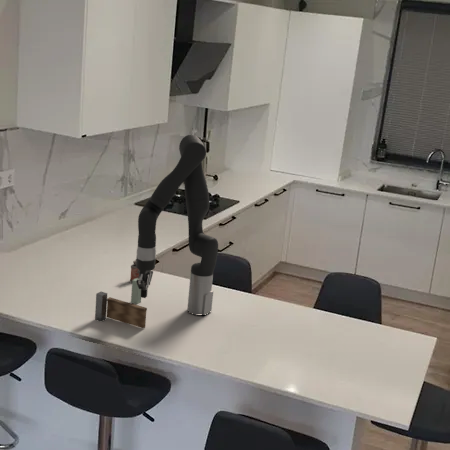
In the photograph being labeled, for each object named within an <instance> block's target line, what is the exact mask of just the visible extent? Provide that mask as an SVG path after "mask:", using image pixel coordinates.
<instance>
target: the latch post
mask: <svg viewBox="0 0 450 450" xmlns="http://www.w3.org/2000/svg"><path fill="white" fill-rule="evenodd" d="M137 280H139V279H138V278H136V279H134V280H132V282H131V296H130V303H132V304H135V305H138V304H140V303H142V297H141V289H139V288H138V285H137V282H136V281H137Z"/></svg>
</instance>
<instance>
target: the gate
mask: <svg viewBox="0 0 450 450" xmlns="http://www.w3.org/2000/svg"><path fill="white" fill-rule="evenodd" d="M147 311H148V307H145V306H140V305H138V304H134V303H131V302H127V301H124V300H121V299H117V298H113V297H107V309H106V319H107V318H108V319H111V320H114V321H118V322H121V323H125V324H127V325H131V326H134V327H136V328H137V327H138V328H141V329H145V328H146V320H147Z"/></svg>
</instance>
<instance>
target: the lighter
mask: <svg viewBox="0 0 450 450" xmlns="http://www.w3.org/2000/svg"><path fill="white" fill-rule="evenodd" d="M139 273H140V270H139V269H137V268H136V259H135V260H133V264H131V265H130V279H129V282H130V283H132V280H134V279H136V278H138V279H139Z"/></svg>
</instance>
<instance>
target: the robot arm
mask: <svg viewBox="0 0 450 450" xmlns="http://www.w3.org/2000/svg"><path fill="white" fill-rule="evenodd" d="M178 150H179V154H180V158H179V160H178V162H177V164H176V166H174V168H173V169H172V171H171V172H170V173H168V174H167V175H166V176H165V177H164V178H163V179H162V180H161V181H160V182H159V184H158V185H157V186H156V188H155V190H153V193H152V194H151V196H150V198H149V199H148V200H147V202H146V203H145V204H144V206H143V207H142V209H141V210H140V212H139V215H138V216H137V217H138V220H137V229H138V230H137V231H138V235H137V247H136V258H135V260H136V268H137V269H139V270H140V273H139V280H137V281H136V282H137V285H138V288H139V289H141V299H146V298H147V297H148V288H149V286H151V281H152V279H153V274H154V271H153V270H155V268H156V256H157V247H156V246H157V245H156V243H157V236H156V235H157V234H156V227H157V221H158V219H159V216H160V215H161V213H162V212H163V210H164V208H166V207H167V205H169V204H170V201H171V200H172V199H173V197H174V195H175V194H176V193H177V191H178V190H179V189H180V187H181V186H182V184H184V196H185V197H184V198H185V205H186V212H187V223H188V225H187V226H188V249H189V251H190V253H191V254H193V255H195V256H197V257H200V258H201V260H200V262H196V263H193V264H192V265H191V267H190V268H191V269H190V274H189V275H190V276H189V277H190V279H189V287H188V288H189V289H188V298H187V309H186V311H187V310H188V311H189V312H190V313H193V314H202V315H205V314H207V313H209V312H210V311H211V312H212V311H213V310H212V309H213V307H212V306H213V299H214V291H213V290H212V288H213V278H214V272H215V271H214V270H215V268H216V264H217V259H218V253H219V252H218V251H219V242H218V239H217V238H216V237H213V236H210V235H207V234H205V232H204V228H203V221H204V219H205V216H206V215H207V213H209V209H210V205H211V204H210V193H209V189H208V184H207V181H206V177H205V173H204V170H203V161H204V159H205V158H206V156H207V149H206V146H205V145H204V143H203V142H202V140H201V139H200V138H199V136H196V135H194V134H187V135H185V136H183V137H182V139H181V140H180V141H179V146H178ZM188 311H187V312H188ZM189 312H188V313H189ZM190 313H189V314H190ZM193 314H192V315H193ZM209 314H210V313H209ZM207 315H208V314H207Z"/></svg>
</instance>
